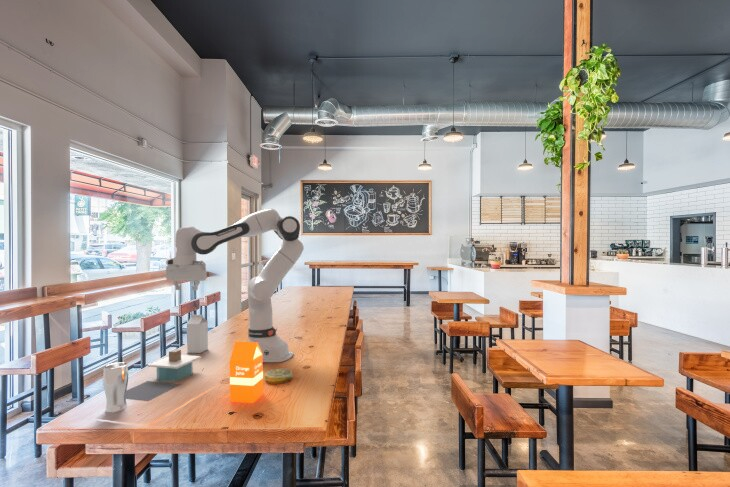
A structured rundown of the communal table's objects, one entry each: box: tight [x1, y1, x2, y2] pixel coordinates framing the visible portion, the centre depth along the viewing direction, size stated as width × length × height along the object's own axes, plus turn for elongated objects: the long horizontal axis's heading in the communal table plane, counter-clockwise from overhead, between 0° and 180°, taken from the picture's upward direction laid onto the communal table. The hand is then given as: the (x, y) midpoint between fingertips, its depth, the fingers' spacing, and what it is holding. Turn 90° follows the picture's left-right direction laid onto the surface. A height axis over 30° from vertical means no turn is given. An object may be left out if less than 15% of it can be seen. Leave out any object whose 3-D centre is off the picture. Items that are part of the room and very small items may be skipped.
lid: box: [147, 349, 202, 369], centre depth 154 cm, size 14×14×5 cm
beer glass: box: [102, 361, 129, 413], centre depth 123 cm, size 7×7×15 cm
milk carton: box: [186, 314, 209, 354], centre depth 190 cm, size 7×7×19 cm
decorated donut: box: [264, 367, 293, 385], centre depth 148 cm, size 10×11×4 cm
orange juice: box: [229, 341, 264, 404], centre depth 131 cm, size 8×9×20 cm
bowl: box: [156, 361, 194, 382], centre depth 154 cm, size 13×13×6 cm
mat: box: [126, 380, 182, 402], centre depth 138 cm, size 16×16×1 cm
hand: (186, 290), depth 172 cm, fingers open, 8 cm apart
